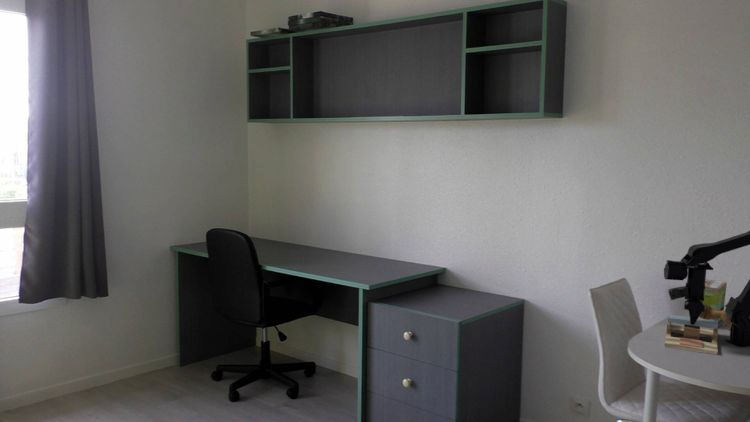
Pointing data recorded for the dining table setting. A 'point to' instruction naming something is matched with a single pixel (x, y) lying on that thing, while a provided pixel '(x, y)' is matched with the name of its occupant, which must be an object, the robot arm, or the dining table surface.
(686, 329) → the walnut block
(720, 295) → the tea box
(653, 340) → the dining table surface
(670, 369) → the dining table surface
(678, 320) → the sliding slat
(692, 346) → the puzzle board
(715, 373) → the dining table surface
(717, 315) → the lion figurine
